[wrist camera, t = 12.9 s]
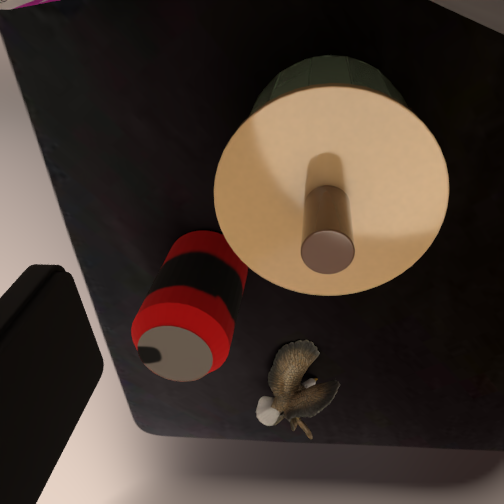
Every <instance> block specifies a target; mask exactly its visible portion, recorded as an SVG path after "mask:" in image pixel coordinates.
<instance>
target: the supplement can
mask: <svg viewBox="0 0 504 504" xmlns="http://www.w3.org/2000/svg"><path fill="white" fill-rule="evenodd" d="M52 1H58V0H0V9H15V8H20V7H25V6H31V5H36V4H42V3H47V2H52Z"/></svg>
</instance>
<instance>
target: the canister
mask: <svg viewBox="0 0 504 504" xmlns="http://www.w3.org/2000/svg"><path fill="white" fill-rule="evenodd" d="M325 83H344V84H353V85H359V86H364V87H368V88H371V89H374V90H377V91H380V92H383V93H385V94H387V95H389V96H391V97H393V98H395V99H397V100H398V101H400V102H401V103H403V104H404V105H406V103H405V101H404V99H403V97H402V95H401V94H400V92H399V91H398V90H397V89H396V88H395V87H394V86H393V84H392V83H391V82H390V81H389V79H388V78H386V77H385V76H384V75H383V74H382V73H381V71H380V70H378V69H377V68H375V67H373V66H371V65H369V64H367V63H365V62H363V61H361V60H358V59H354V58H351V57H348V56H347V57H346V56H340V55H325V56H317V57H312V58H309V59H305V60H303V61H300V62H298V63H295V64H294V65H292V66H290V67H288V68H287V69H285V70H283V71H281V72H280V73H279V74H278V75H277V76H276V77H275V78H274V79H273V80H272V81H271V82H270V83H269V84H268V86H267V87H266V88H265V89H264V91H263V92H262V93H261V94H260V95H259V96H258V98H257V100H256V102H255V105H254V107H253V109H252V111H251V113H250V115H251V114H252V113H253V112H254V111H255V110H257V109H258V108H259V107H261V106H262V105H264V104H265V103H266V102H268V101H270V100H272V99H274V98H276V97H277V96H279V95H281V94H284V93H286V92H289V91H292V90H294V89H297V88H301V87H306V86H310V85H315V84H325ZM406 106H407V105H406Z"/></svg>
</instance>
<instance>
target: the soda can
mask: <svg viewBox="0 0 504 504" xmlns="http://www.w3.org/2000/svg"><path fill="white" fill-rule="evenodd" d="M247 272H248V266H247V265H246V264H245V263H244V262H243V261H242V260H241V259H240V258H239V257H238V256H237V255H236V253H235V252H234V251H233V250H232V248H231V247H230V245H229V244H228V242H227V241H226V239H225V236H224V235H222V234H219V233H216V232H212V231H194V232H190V233H187V234H185V235H183V236H182V237H180V238H179V239H178V240H177V241H176V242H175V243H174V244H173V246H172V248H171V250H170V251H169V253H168V255H167V257H166V259H165V261H164V263H163V265H162V267H161V269H160V271H159V273H158V275H157V277H156V279H155V280H154V282H153V284H152V286H151V288H150V290H149V292H148V294H147V296H146V298H145V300H144V302H143V304H142V306H141V308H140V310H139V311H138V313H137V315H136V317H135V319H134V321H133V324H132V328H131V334H132V339H133V343H134V345H135V347H136V349H137V351H138V354H139V357H140V359H141V360H142V362H143V363H144V364H145V366H146V367H148V368H149V369H150V370H151V371H152V372H154V373H155V374H157V375H159V376H161V377H163V378H166V379H169V380H174V381H183V382H185V381H193V380H197V379H199V378H201V377H203V376H204V375H206V374H208V373H210V372H212V371H215V370H216V369H217V368H219V367H220V366H221V365H222V364H223V363H224V362H225V360H226V358H227V356H228V353H229V349H230V345H231V341H232V336H233V332H234V328H235V324H236V320H237V315H238V311H239V307H240V303H241V299H242V294H243V290H244V286H245V282H246V278H247Z"/></svg>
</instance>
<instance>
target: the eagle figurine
mask: <svg viewBox="0 0 504 504" xmlns="http://www.w3.org/2000/svg"><path fill="white" fill-rule="evenodd" d="M319 354H320V352H319V351H317V346H314V343H313V342H309V341H308V340H304V341H301V340H298V341H296V342H295V344H294V343H293V342H290V344H289V345H288V344H285V345H284V346H283V347H282V348H281V349H280V350H279V351H278V353H277V354H276V358H275V359H274V361H273V365H272V368H271V372H269V374H268V383H269V387H271V390H272V391H273V395H274V396H275V397H267V396H263V397H261V398H260V400H259V402H258V406H257V409H256V412H257V418H258V419H259V421H260V422H261V423H263V424H265V425H267V426H272V425H277V424H278V423H279V422H280V421H281V420H282V419H283V418H285V417H286V419H287V420H288V421H289V422H290V424H291V430H293V431H295V429H296V426H297V424H298V425H299V426H300V427H301V428H302V429H303V430H304V431H305V432H306V435H307V436H308V437H309V438H310V439H312V434H311V431H310V430H309V428H308V427H307V425H306V424H305V423H304V422H303V421H302V420H301V418H300V417H302V416H303V417H306V416H308V417H312V416H315V415H316V413H319V411H322V410H323V409H324V408H325V407H326V406H327V405H329V404H330V403H331V401H332V400H333V398H334V396H335V394H336V393H337V389H338V388H339V386H340V384H339V382H338V381H336V379H335V380H332V381H329V382H326V383H320V384H316V380H317V378H314V379H312V378H310V379H308V380H307V381H305V382H304V383H302V384H300V382H301V379H302V377H303V375H304V374H305V372H306V370H307V369H308V367H309V366H310V365H311V364H312V363H313V361H314V360H315V359H316V358H317V357H318V355H319ZM280 413H281V414H280Z"/></svg>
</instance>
